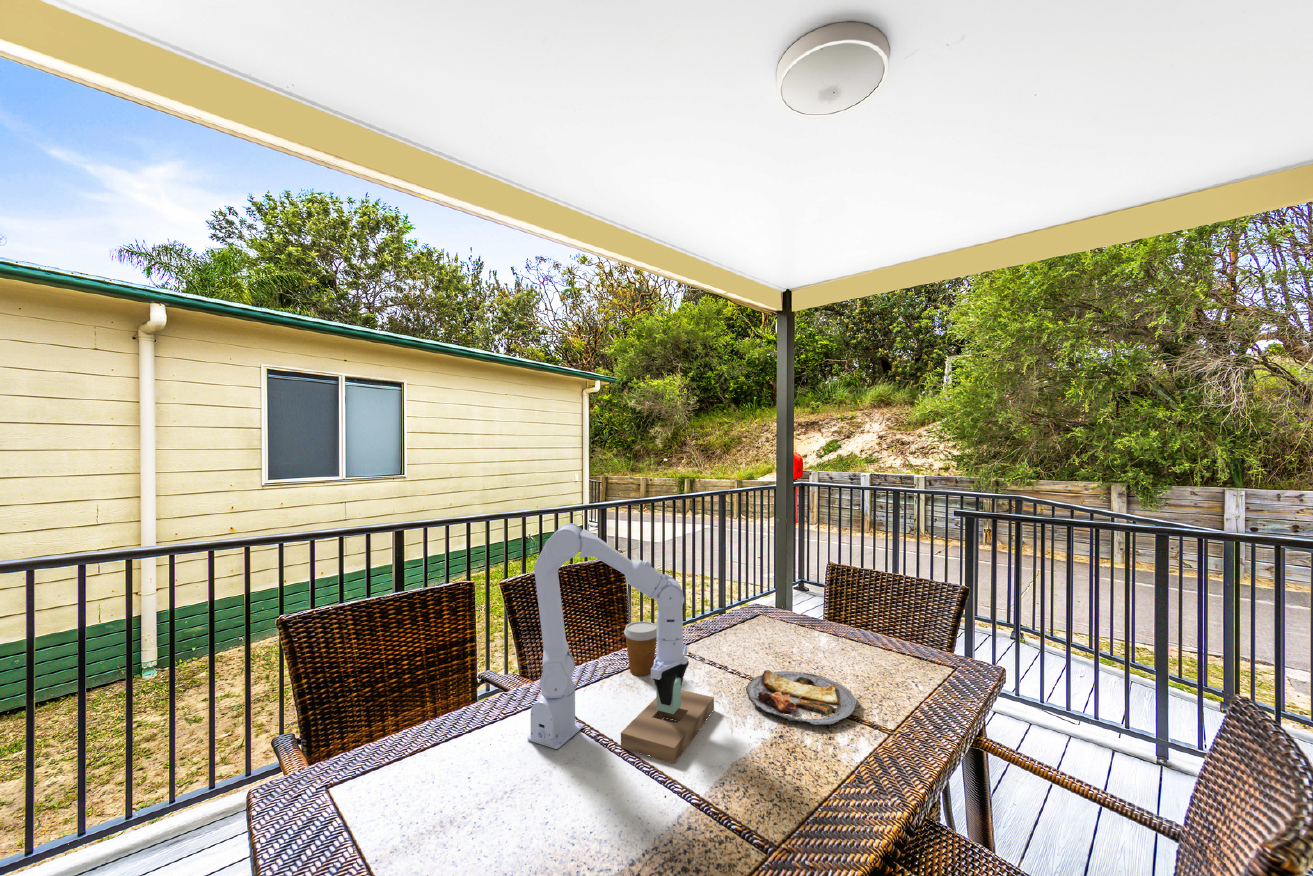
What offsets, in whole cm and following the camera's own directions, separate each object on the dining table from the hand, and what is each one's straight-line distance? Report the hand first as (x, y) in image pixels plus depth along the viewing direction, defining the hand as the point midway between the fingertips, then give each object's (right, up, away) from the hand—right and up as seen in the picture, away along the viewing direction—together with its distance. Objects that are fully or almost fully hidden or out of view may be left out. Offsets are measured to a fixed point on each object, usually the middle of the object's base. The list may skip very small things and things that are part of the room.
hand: (670, 699), depth 109 cm
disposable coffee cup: (-7, -7, +28) cm, 30 cm away
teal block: (0, -2, 0) cm, 2 cm away
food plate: (+31, -7, +11) cm, 34 cm away
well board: (0, -6, 0) cm, 6 cm away
